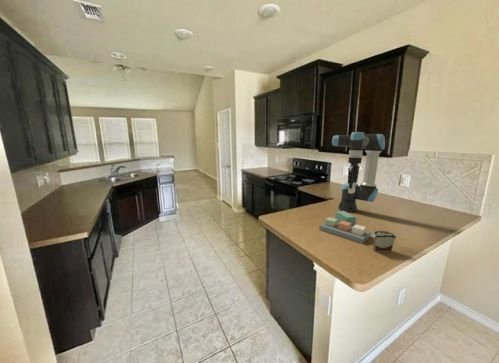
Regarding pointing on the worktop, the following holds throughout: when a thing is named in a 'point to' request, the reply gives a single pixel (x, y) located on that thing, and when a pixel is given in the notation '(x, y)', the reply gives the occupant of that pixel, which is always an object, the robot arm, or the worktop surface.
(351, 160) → the robot arm
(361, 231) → the pale grey block
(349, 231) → the button board
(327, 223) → the sage button
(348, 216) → the box
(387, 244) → the food container
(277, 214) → the worktop surface
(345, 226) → the terracotta button
